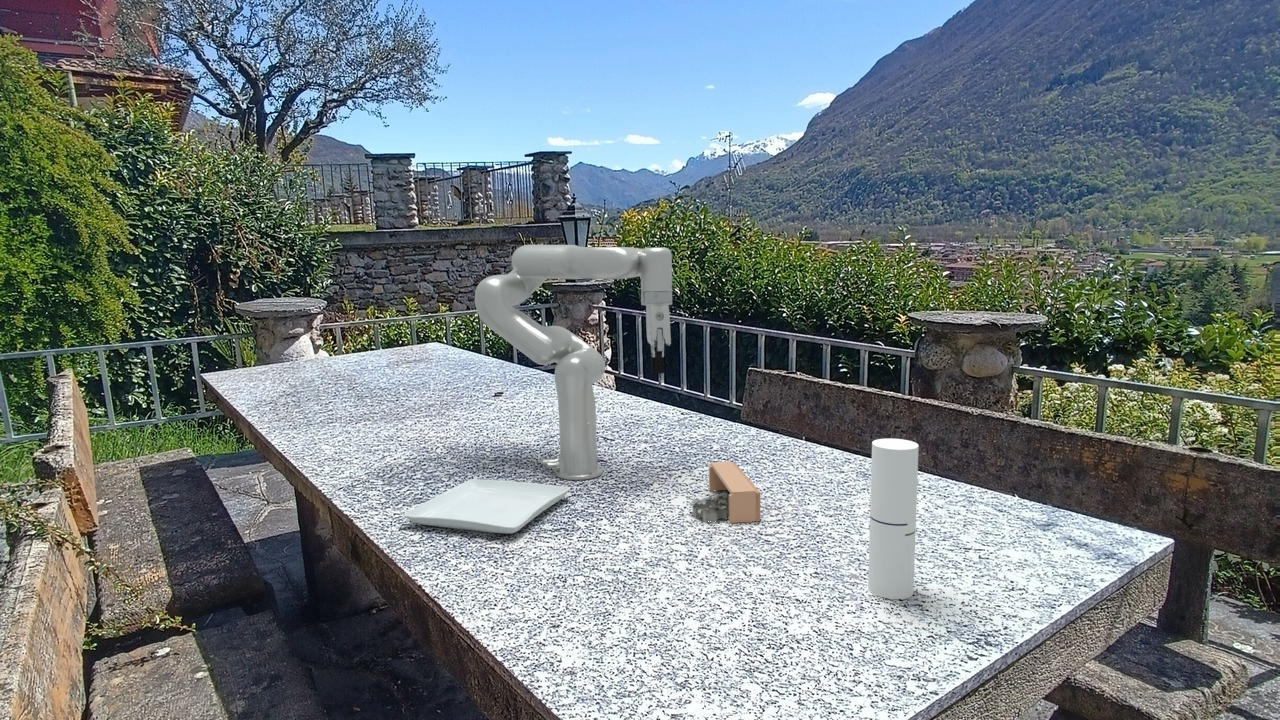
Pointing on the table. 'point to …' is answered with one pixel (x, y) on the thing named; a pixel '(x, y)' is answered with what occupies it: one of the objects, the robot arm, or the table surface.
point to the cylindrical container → (893, 518)
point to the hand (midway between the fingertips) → (657, 372)
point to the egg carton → (711, 507)
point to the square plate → (488, 505)
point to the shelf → (736, 491)
